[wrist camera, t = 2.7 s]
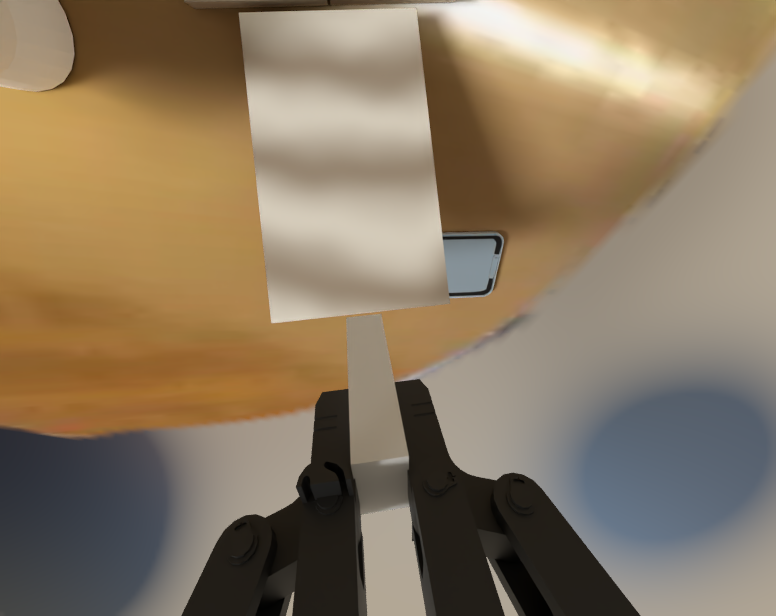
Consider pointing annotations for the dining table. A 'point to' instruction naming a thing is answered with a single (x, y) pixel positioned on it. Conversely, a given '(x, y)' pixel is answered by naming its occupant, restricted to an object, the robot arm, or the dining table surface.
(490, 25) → the dining table surface
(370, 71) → the silvery beige flat slab
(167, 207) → the dining table surface
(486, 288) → the smartphone
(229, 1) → the laid floor
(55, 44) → the cup
